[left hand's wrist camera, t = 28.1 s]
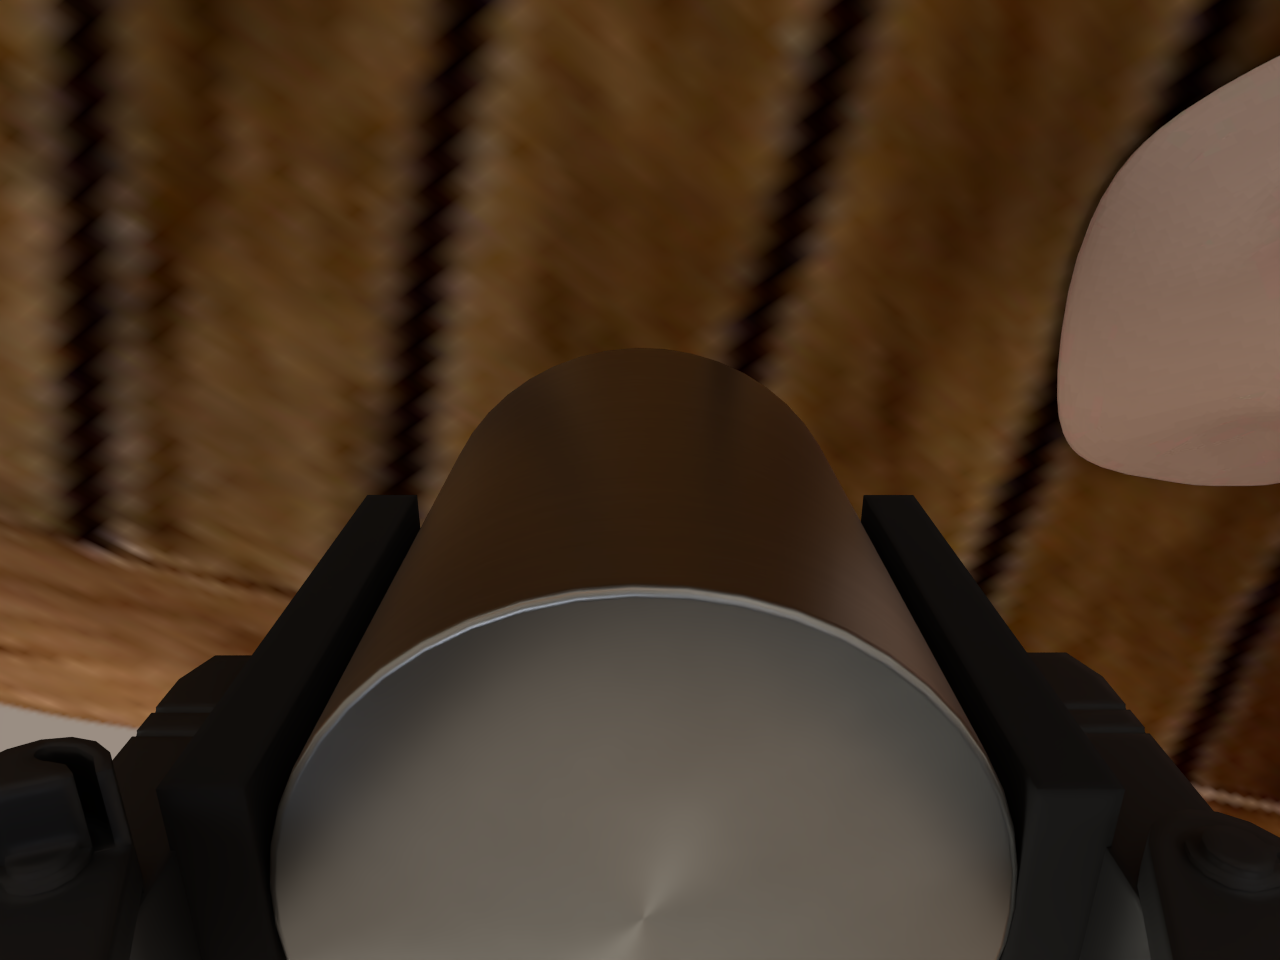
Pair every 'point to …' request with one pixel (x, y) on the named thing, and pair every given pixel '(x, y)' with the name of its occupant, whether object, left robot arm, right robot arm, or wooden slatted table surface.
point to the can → (643, 709)
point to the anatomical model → (1183, 300)
